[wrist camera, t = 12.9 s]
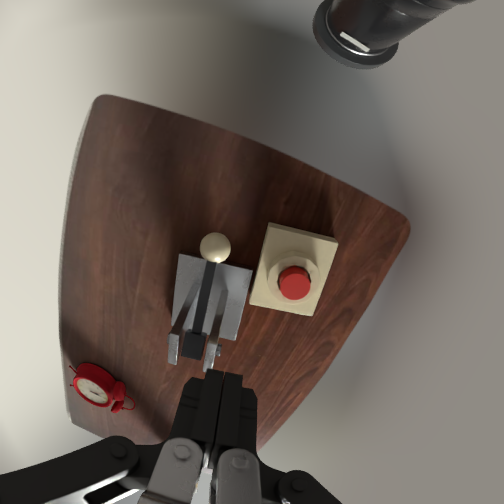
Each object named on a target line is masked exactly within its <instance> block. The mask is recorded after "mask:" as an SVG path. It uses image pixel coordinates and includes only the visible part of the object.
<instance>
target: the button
mask: <svg viewBox="0 0 504 504" xmlns="http://www.w3.org/2000/svg"><path fill="white" fill-rule="evenodd" d="M279 282H280V290H281V293H282V294H283V296H284V297H286V298H287V299H290V300H299V299H302V298H304V297H305V296H306V295H307V294H308V293H309V291H310V281H309V278H308V275H307V273H306V272H305V271H304V270H303V269H302V268H299V267H290V268H287V269H286V270H284V271H283V272H282V274H281V275H280V279H279Z"/></svg>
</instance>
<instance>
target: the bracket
mask: <svg viewBox="0 0 504 504" xmlns="http://www.w3.org/2000/svg"><path fill="white" fill-rule="evenodd" d="M206 262H207V261H206V260H205V259H204V258H203V257H202V255H198V254H193V253H189V252H185V251H181V252H180V253H179V259H178V266H177V274H176V283H175V291H174V300H173V310H172V321H171V325H172V326H173V327H172V330H171V332H169V334H168V338H167V344H169V351H168V363H171V364H175V365H176V364H177V361H178V358H179V356H180V353H181V350H182V347H183V342H184V337H185V332H186V331H187V330H188V329H192V326H193V321H194V317H195V312H196V307H197V302H198V298H199V293H200V289H201V284H202V280H203V275H204V271H205V266H206ZM252 273H253V267H251V266H246V265H242V264H237V263H233V262H228V261H223V262H220V263H217V266H216V270H215V275H214V279H213V284H212V288H211V293H210V297H209V302H208V306H207V311H206V316H205V320H204V325H203V330H202V332H205V333H207V334H208V335H209V339H208V343H207V349H206V354H205V360H204V365H203V372H206V370H207V368H209V369H212V367H213V363H214V358H215V355H216V356H220V352H221V347H222V344H218V339H219V337H221V338H226V339H230V340H235V339H236V335H237V332H238V328H239V324H240V320H241V316H242V312H243V308H244V304H245V300H246V296H247V292H248V288H249V285H250V281H251V277H252Z"/></svg>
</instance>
